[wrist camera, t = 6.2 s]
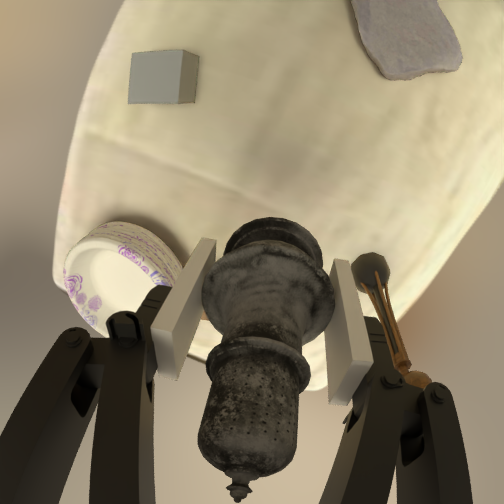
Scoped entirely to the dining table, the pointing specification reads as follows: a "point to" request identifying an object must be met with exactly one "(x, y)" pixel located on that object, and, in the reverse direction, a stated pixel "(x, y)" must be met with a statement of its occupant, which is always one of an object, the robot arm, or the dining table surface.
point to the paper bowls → (116, 271)
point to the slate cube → (163, 77)
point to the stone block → (407, 37)
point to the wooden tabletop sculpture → (385, 312)
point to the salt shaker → (261, 346)
